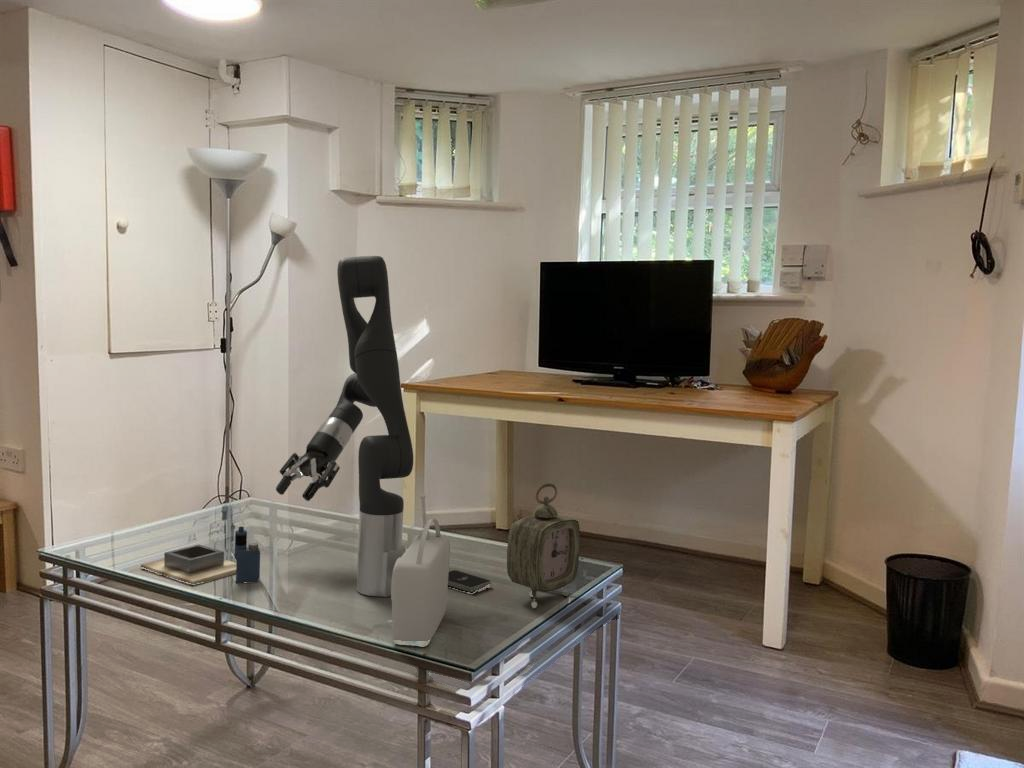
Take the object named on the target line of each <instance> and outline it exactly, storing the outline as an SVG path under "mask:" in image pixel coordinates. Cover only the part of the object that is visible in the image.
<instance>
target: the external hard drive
mask: <svg viewBox="0 0 1024 768" xmlns="http://www.w3.org/2000/svg"><path fill="white" fill-rule="evenodd" d="M491 583H492V582H491V579H488V578H484V577H481V576H479V575H478V576H477V575H473V574H471V573H467V572H464V571H461V570H457V569H452V570H449V573H448V587H451V588H455V589H458V590H461V591H465V592H470V593H473V592H475V591H476V590H479V589H481V588H483V587H485V586H486V585H488V584H491ZM451 588H450V589H451Z"/></svg>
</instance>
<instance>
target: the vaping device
mask: <svg viewBox="0 0 1024 768" xmlns="http://www.w3.org/2000/svg"><path fill="white" fill-rule="evenodd" d="M234 533H235V535H234V536H235V538H234V555H233V556H234V560H235V561H236V562H235V563H236V574H235V583H236V584H237V583H243V584H245V583H244V582H255V583H258V582H259V579H260V577H261V573H260V571H261V570H260V569H261V550H260V547H259V543H257V542H251V543H250V542H249V543H248V542H247V541H248V540H247V539H248V531H247V530H245V527H244V526H238V530H235V532H234ZM247 543H248V545H247ZM247 546H248V547H247Z"/></svg>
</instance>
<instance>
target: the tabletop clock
mask: <svg viewBox="0 0 1024 768" xmlns="http://www.w3.org/2000/svg"><path fill="white" fill-rule="evenodd" d="M548 487H551V488H552V489H554V494H553V496H552V497H551V498H549V496H544V497H543V500H540V499H539V494H540V493H541V490H543V489H544V488H548ZM557 495H558V488H557V486H556V485H555V484H553V483H551V482H550V483H544V484H541V486H540V487H538V489H537V490H536V493H535V499H536V501H537V503H538V504H539V505H538V506H537V507H536V508H535V509H534V510H533V514H530V515H528V516H525V517H523V518H521V519H518V520H515V521H514V522H512V524H510V527H509V530H508V536H507V546H506V547H507V549H506V571H507V575H508V578H509V579H510V580H511V582H512V583H514V584H516V585H520V586H523V587H526V588H530V591H531V590H532V595H533V598H532V600H533V599H535V598H536V597H537V594H536V593H537V591H538V592H542V593H547V592H552V591H555V590H559V589H561V587H566V586H568V585H569V584H570V583H572V582H573V581H574V580H575V579H576V576H577V572H578V569H579V568H578V567H579V562H580V551H581V533H580V532H581V530H580V523H579V521H578V520H577V519H573V518H569V517H564V516H559V515H558V510H557V509H556V508H555V507H554V506H553V505H551V504H550V503H552V502H553V501H555V499H556V498H557ZM536 599H537V598H536Z"/></svg>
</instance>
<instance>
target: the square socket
mask: <svg viewBox="0 0 1024 768" xmlns="http://www.w3.org/2000/svg"><path fill="white" fill-rule="evenodd" d="M163 559H164V566H166V567H169V568H172V569H175V570H178V571H182V572H185V573H188V574H192V573H195V572H199V571H203V570H206V569H210V568H214V567H217V566H221V565H224V559H225V551H223V550H220V549H216V548H212V547H209V546H206V545H202V544H199V543H198V544H195V545H191V546H187V547H183V548H178V549H174V550H168V551H165V552H164V557H163Z"/></svg>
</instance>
